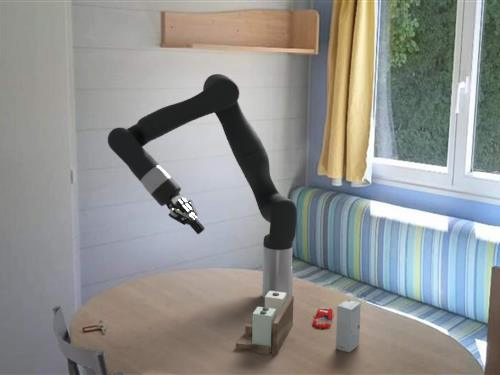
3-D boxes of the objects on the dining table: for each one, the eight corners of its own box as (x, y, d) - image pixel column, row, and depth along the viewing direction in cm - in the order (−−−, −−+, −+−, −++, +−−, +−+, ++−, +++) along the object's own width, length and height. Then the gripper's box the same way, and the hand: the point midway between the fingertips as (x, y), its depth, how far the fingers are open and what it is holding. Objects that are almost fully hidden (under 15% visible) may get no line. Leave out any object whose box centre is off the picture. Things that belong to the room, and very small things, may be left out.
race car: (329, 336, 178) (329, 323, 177) (310, 333, 179) (310, 320, 178) (335, 317, 190) (336, 304, 189) (317, 315, 192) (318, 302, 191)
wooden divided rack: (221, 351, 167) (221, 315, 165) (242, 322, 185) (242, 290, 183) (276, 359, 163) (277, 323, 161) (292, 329, 181) (293, 296, 179)
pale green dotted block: (252, 349, 166) (252, 312, 163) (256, 341, 170) (257, 305, 168) (270, 352, 164) (271, 314, 162) (275, 344, 169) (276, 307, 167)
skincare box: (349, 353, 167) (352, 310, 165) (334, 348, 170) (336, 305, 167) (359, 344, 172) (362, 302, 170) (344, 340, 175) (347, 298, 172)
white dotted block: (264, 330, 177) (264, 295, 175) (268, 323, 181) (269, 289, 179) (281, 333, 175) (282, 297, 173) (285, 326, 180) (286, 291, 178)
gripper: (159, 181, 170) (202, 229, 169) (178, 172, 183) (218, 217, 182) (141, 199, 173) (184, 246, 172) (161, 189, 185) (201, 233, 184)
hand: (201, 231), depth 177 cm, fingers closed
